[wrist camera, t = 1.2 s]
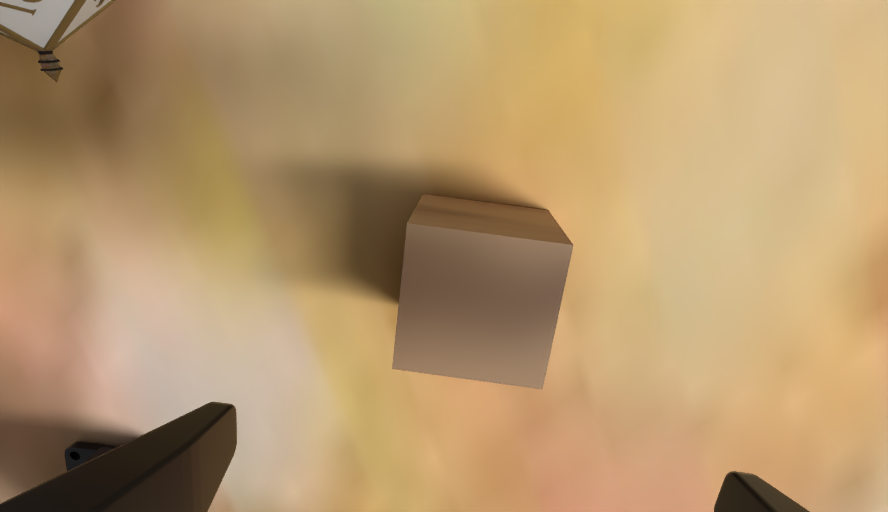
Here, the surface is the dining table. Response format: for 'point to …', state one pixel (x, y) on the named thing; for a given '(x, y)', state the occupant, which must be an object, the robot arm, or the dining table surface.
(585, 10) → the dining table surface
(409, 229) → the walnut block
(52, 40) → the game die
